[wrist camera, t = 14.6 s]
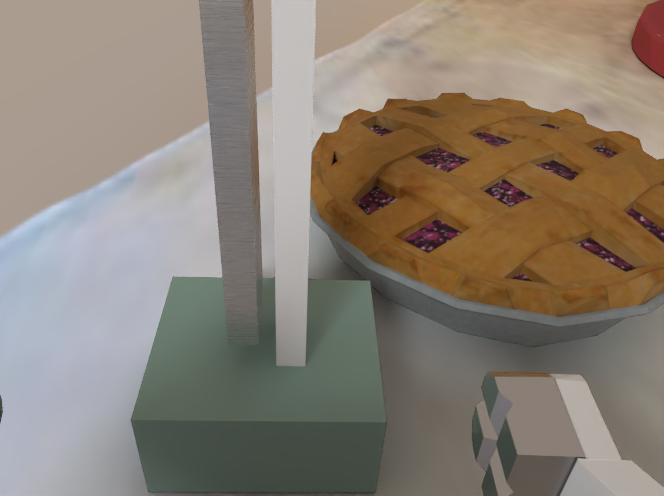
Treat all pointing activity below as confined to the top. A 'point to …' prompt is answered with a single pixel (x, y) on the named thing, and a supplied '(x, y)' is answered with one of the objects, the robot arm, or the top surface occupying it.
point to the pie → (495, 216)
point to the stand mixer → (651, 37)
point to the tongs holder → (269, 344)
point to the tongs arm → (235, 159)
